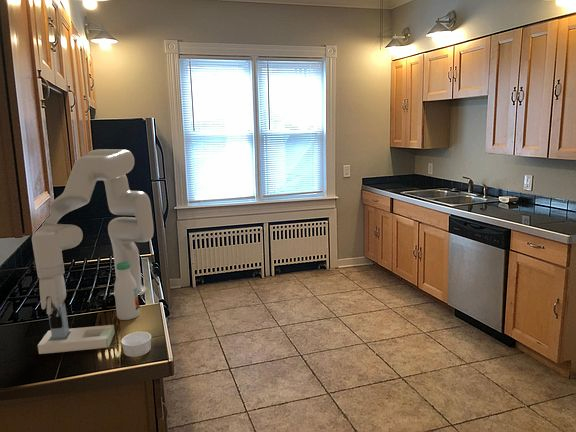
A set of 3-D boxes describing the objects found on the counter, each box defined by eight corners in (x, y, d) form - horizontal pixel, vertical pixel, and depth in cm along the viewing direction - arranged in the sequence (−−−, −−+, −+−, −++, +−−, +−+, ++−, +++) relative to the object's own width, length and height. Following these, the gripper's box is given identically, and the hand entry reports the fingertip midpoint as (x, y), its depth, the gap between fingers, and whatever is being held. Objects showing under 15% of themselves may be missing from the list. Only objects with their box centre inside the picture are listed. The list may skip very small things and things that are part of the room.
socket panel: (49, 338, 155) (48, 330, 155) (114, 332, 158) (113, 324, 158) (38, 354, 146) (37, 345, 145) (108, 347, 149) (107, 338, 148)
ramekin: (156, 352, 145) (154, 339, 144) (126, 361, 140) (125, 348, 139) (147, 341, 152) (146, 329, 151) (119, 349, 148) (117, 336, 147)
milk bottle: (132, 321, 167) (127, 267, 162) (113, 320, 168) (106, 266, 164) (143, 312, 174) (138, 260, 170) (124, 311, 176) (118, 259, 171)
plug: (56, 333, 153) (51, 301, 150) (69, 332, 153) (64, 300, 151) (52, 340, 149) (47, 307, 146) (65, 338, 150) (60, 306, 147)
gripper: (46, 262, 153) (54, 314, 158) (27, 281, 137) (37, 338, 142) (71, 260, 154) (78, 312, 159) (55, 279, 138) (63, 335, 143)
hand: (59, 323), depth 150 cm, fingers closed on plug, 4 cm apart
